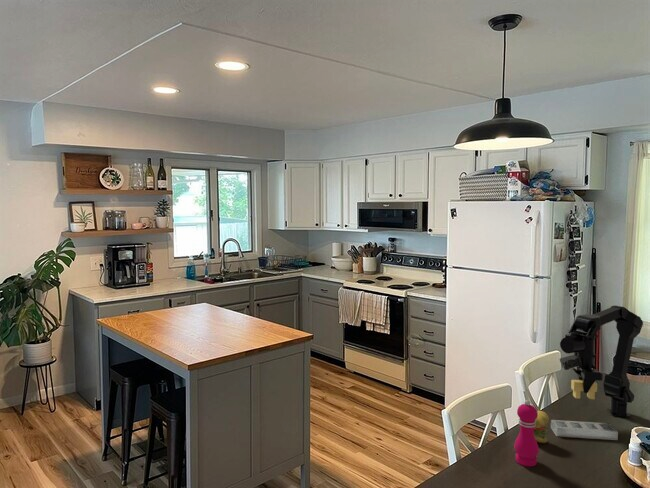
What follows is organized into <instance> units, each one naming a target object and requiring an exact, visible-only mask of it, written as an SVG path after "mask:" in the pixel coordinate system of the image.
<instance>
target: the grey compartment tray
mask: <svg viewBox="0 0 650 488" xmlns="http://www.w3.org/2000/svg"><path fill="white" fill-rule="evenodd" d="M550 429H551V430H552V432H553V433H554V435H555V436H556V437H563V438H564V437H565V438H576V439H577V438H579V439H580V438H581V439H593V440H609V441H611V440H612V441H618V439H619V437H618V436H619V431H618V430H617V429H616V428H615V427H614V426H613V425H612V424H611V423H608V422H592V421H577V420H562V419H561V420H558V419H551V420H550Z"/></svg>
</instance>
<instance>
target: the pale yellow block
mask: <svg viewBox="0 0 650 488" xmlns="http://www.w3.org/2000/svg"><path fill="white" fill-rule="evenodd" d="M570 383H571V385H570V388H571V390H572V396H573V397H574V399H581V392H584V389H583V382H582V380H578V379H571V382H570ZM597 392H598V383H597V382H596V381H595V382H594V383H593V385H592V386H591V388H590V390H589V391H588V393H586V397H587V398H588V399H589V400H595V399H596V393H597Z"/></svg>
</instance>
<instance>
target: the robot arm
mask: <svg viewBox="0 0 650 488" xmlns="http://www.w3.org/2000/svg"><path fill="white" fill-rule="evenodd" d="M612 322H615V323H616V325H615V327H616V331H617V333H618V339H617V340H618V341H617V346H616V350H615V355H614V360H613V366H612V370H611V372H609V373H608V374H607V373H606V374H605V375H604V374H602V373H601V372H600V371H599V370H598V369H596V365H595V358H597V354H596V353H595V340H596V339H598V338H599V335H598V334H597V332H598V331H600V330H601V328H602V326H604V325H606V324H608V323H612ZM643 326H644V321H643V320H642V318H641V317H640V316H639V315H638V314H636V313H634V312H632V311H631V310H628V308H626V307H624V306H619V305H615V304H614V305H611V306H610V307H608V308H606V309H603V310H601V311H599V312H596V313H593V314H581V315H577V316H576V317H575V319H574V321H573V323H572V324H571V326H570V328H569V330H568V333H565V334H564V335H565V337H563V338H562V339H560V340H561V341H560V342H559V345H560V349H561V351H563V352H564V354H573V355H567V356H565V357H560V358H559V362H560V364H561V368H563V369H564V370H565V371H568V370H570V369H571V370H572V371H573V372H574V373H575V374H576V375H577V380H582V382H583V389H584V391H583V393H584V394H587V393H588V391H589V390H590V388H591V386H592V385H593V383H594V382H596V381H603V383H602V387H603V392H604V395H605V396H606V397H609V398H610V402H609V404H610V406H609V407H610V408H606V411H607V412H608V413H609V414H610V415H611V416H613V417H623V418H624V417H625V418H632V416H631V414H629V412H628V403H632V402H634V400H635V394H634V393H633V392H632V391H631V389H630V384H631V383H630V380H629V378H628V375H627V374H628V369H629V365H630V359H631V355H632V350H633V346H634V345H633V344H634V340H635V338H636V337H637V336H638V335H640V333H641V331H642V327H643Z"/></svg>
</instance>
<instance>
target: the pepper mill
mask: <svg viewBox="0 0 650 488" xmlns="http://www.w3.org/2000/svg"><path fill="white" fill-rule="evenodd" d="M516 411H517V417H518V425H519V434H518V436H517V437H516V439H515V441H514V445H513V447H514V451H515V452H516V453H515V461H516V463H518V464H519V465H521V466H524V467H535V466H536V465H538V454H539V453H540V450H539V445H538V442H537V441H536V439H535V437H534V427H535V426H536V424H535V423H536V421H535V420H536V418H537V417H538V413H537V411H538V410H537V408H536V407H535V406H534V405H532V403H531V401H530V400H529V399H526V400H525V401H524V403H523V404H521V405H519V406H518V407H517V409H516Z"/></svg>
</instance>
